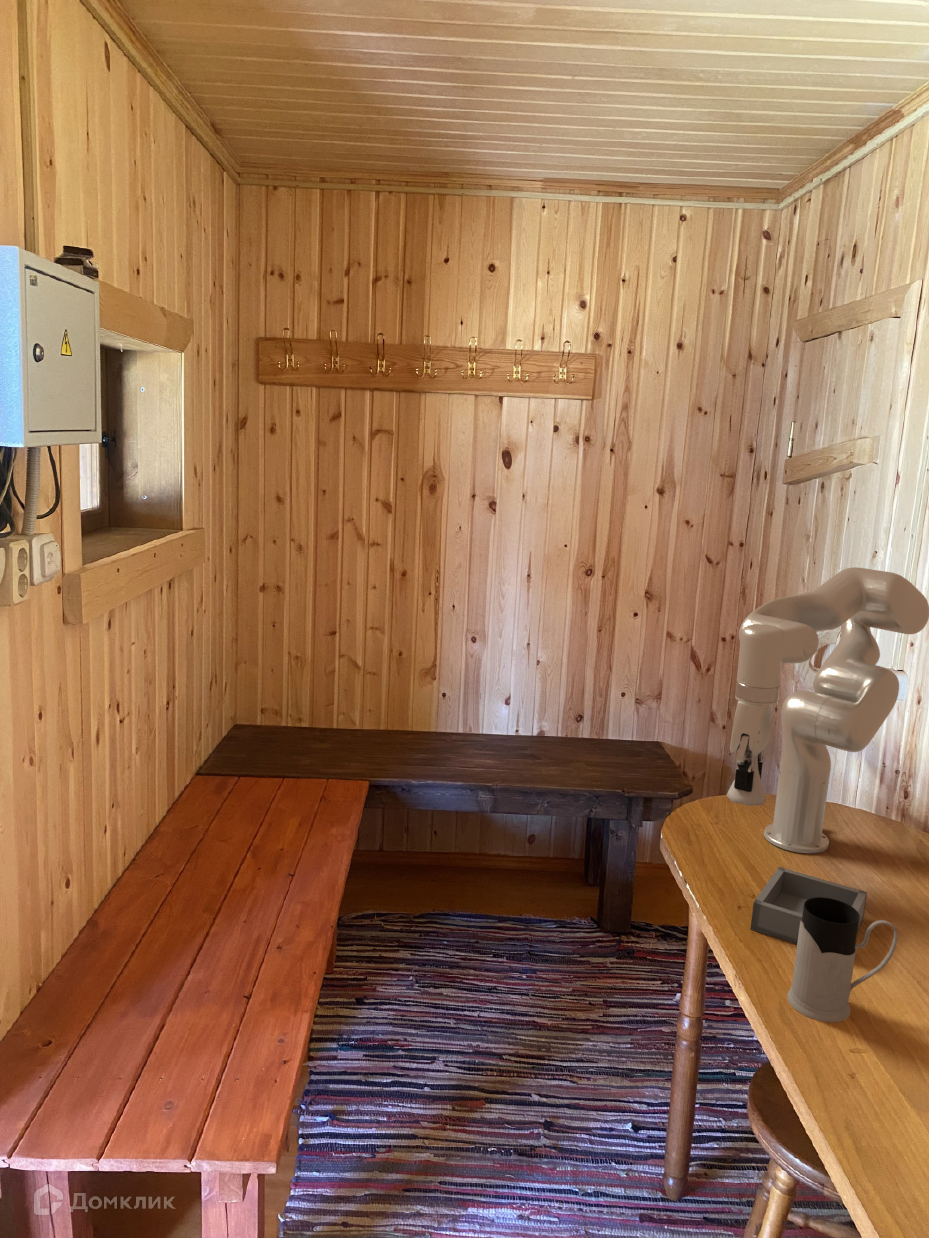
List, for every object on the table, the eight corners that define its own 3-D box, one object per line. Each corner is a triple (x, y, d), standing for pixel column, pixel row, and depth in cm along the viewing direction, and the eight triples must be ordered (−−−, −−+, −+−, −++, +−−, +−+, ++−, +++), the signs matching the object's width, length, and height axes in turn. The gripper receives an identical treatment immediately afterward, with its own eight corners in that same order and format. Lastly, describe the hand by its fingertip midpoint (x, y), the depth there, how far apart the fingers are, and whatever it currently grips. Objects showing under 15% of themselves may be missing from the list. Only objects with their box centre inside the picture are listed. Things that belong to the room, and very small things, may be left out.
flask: (768, 809, 168) (773, 757, 166) (727, 804, 170) (732, 753, 167) (763, 793, 175) (769, 744, 173) (724, 789, 176) (729, 740, 174)
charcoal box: (775, 891, 167) (778, 866, 166) (863, 918, 159) (867, 892, 158) (750, 929, 154) (753, 902, 153) (844, 960, 146) (848, 931, 145)
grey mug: (779, 983, 139) (791, 893, 136) (873, 989, 139) (887, 898, 136) (798, 1020, 130) (811, 924, 127) (898, 1026, 130) (914, 930, 127)
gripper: (750, 678, 177) (741, 766, 181) (722, 699, 163) (713, 795, 167) (789, 685, 173) (779, 775, 177) (764, 707, 159) (754, 805, 163)
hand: (747, 784), depth 172 cm, fingers closed on flask, 4 cm apart
